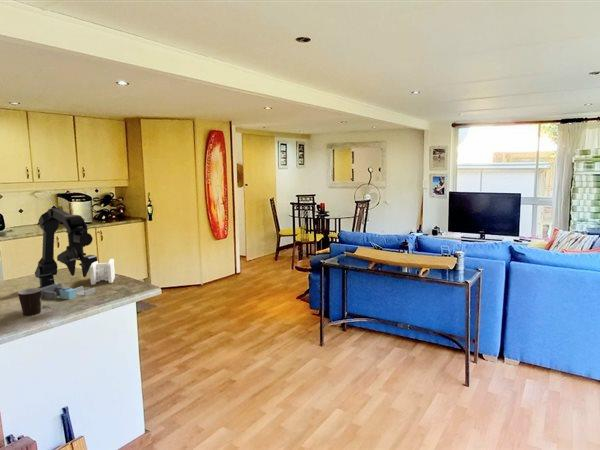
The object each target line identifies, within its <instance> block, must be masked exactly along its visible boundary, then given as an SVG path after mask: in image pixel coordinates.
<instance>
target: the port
mask: <svg viewBox="0 0 600 450" xmlns="http://www.w3.org/2000/svg"><path fill="white" fill-rule="evenodd" d="M64 287H65V286H64ZM64 287H63V286H62V283H61V282H54V284H52V285H49V286H46V287H43V288H40V289H41V299H44V298H45V299H51V300H53V299H54V301H55V300H58V295H60V291H59V290H61V289H62V288H64Z"/></svg>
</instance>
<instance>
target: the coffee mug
mask: <svg viewBox="0 0 600 450" xmlns="http://www.w3.org/2000/svg"><path fill="white" fill-rule="evenodd" d="M17 295H18V300H19V303H20V304H19V305H20V306H21V311H22V315H23V316H25V317H32V315H33V316H37V315H39V314H41V312H42V311H41V310H42V298H41V289H40V288H37V287H31V288H30V287H29V288H25V289H21V290H18V292H17ZM36 314H37V315H36Z"/></svg>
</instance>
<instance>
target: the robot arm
mask: <svg viewBox="0 0 600 450" xmlns="http://www.w3.org/2000/svg"><path fill="white" fill-rule="evenodd" d="M60 223H62V224H63V227H64V228H65V229H66V231H65V233H66V234H67V239H68V245H67V246H66V247H65V250H63V251H62V252H61V253H59V254H57V256H56V260H57V261H56V260H55V259H54V251H55V250H54V247H55V246H54V245H55V233H56V232H57V230H58V229H59V227H60ZM38 225H39V228H40V229H41V230H42V252H41V253H42V255H41V256H42V257H41V258H40V259H39V261H37V267H36V269H35V272H34V275H35V277H36V278H38V280H39V286H38V287H36V288H43V287H46V286H49V285H52V284H54V283H55V278H54V276H56V275H58V263H57V262H59V263H61V264H64V265H65V266H66V267H67V269H68V271H69V273H70V275H71V277H72V276H75V275H76V274H75V273H76V263H77V261H80V262H81V263H78V265H79V266H80V267H81V272H82V276H83V278H86V277H87V274H88V272H89V271H90V270H89V268H90V266H91V264H92V263H94V262H96V261H97V260H98V256H97V255H95V254H88V255H87V253H86V252H84V251H85V250H84V248H85V247H87V246H89V245H91V244H92V243H93V236H92V235H91V233H88V230H89V229H88V225H87V223H86V221H85V220H84V218H83V216H81V215H80V214H79V215H78V214H70V213H69V212H66V211H65V210H63V209H61V207H51V208H48V210H46V212H45V211H44V213H42V214H41V215H40V216H39V218H38Z"/></svg>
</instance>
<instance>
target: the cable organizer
mask: <svg viewBox="0 0 600 450" xmlns="http://www.w3.org/2000/svg"><path fill="white" fill-rule="evenodd" d="M115 270H116V269H115V259H114V258H110V259H109V260H108V262H99V260H98V259H97V261H96V262H94V263H92V264H91V266H90V268H89V270H88V271H89V278H90V285H91V286H95V285H96V284H97V282H98V283H100V281H105V282H107V281H108V284H112V283H113V282H114V280H115V278H116V272H115Z"/></svg>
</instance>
